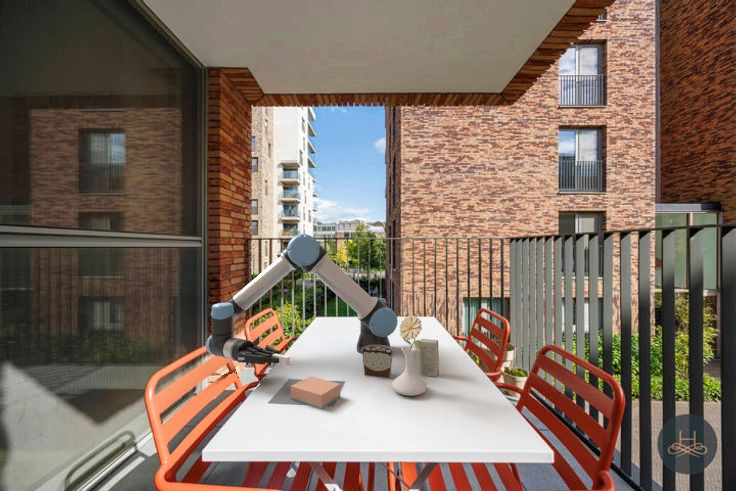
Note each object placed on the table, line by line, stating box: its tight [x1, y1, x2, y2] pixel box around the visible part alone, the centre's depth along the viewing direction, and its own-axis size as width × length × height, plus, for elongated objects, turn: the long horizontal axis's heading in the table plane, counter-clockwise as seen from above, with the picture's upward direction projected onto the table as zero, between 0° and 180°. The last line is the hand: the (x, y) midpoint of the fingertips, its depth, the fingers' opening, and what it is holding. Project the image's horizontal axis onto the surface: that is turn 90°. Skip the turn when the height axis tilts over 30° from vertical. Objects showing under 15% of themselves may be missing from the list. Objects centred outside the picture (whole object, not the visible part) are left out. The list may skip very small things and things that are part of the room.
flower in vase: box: [391, 314, 428, 397], centre depth 107 cm, size 13×11×25 cm
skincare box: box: [418, 338, 440, 378], centre depth 122 cm, size 6×4×12 cm
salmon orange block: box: [290, 375, 341, 410], centre depth 102 cm, size 4×9×12 cm
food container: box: [360, 345, 395, 380], centre depth 122 cm, size 12×6×10 cm, turn 71°
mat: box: [267, 378, 346, 408], centre depth 107 cm, size 20×18×1 cm
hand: (288, 361), depth 108 cm, fingers closed
